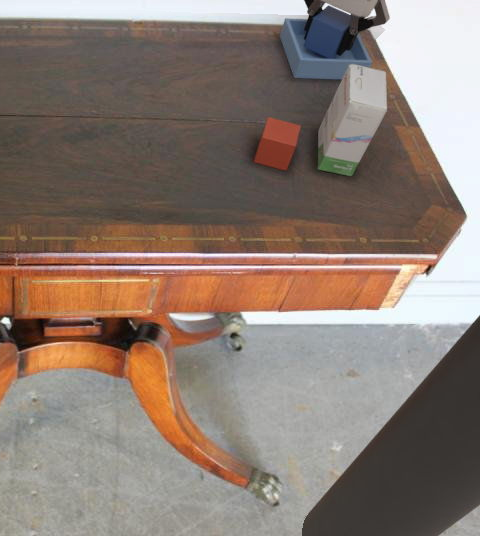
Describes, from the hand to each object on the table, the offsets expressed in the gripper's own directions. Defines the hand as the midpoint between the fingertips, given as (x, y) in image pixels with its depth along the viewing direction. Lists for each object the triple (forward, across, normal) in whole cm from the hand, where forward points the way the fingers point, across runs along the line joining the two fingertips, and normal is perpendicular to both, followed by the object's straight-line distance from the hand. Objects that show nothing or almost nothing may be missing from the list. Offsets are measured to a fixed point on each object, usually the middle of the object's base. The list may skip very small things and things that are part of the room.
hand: (326, 42), depth 112 cm
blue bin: (+3, 0, 0) cm, 3 cm away
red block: (+3, -6, +26) cm, 27 cm away
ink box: (+3, -12, +19) cm, 23 cm away
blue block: (+1, 0, 0) cm, 1 cm away
